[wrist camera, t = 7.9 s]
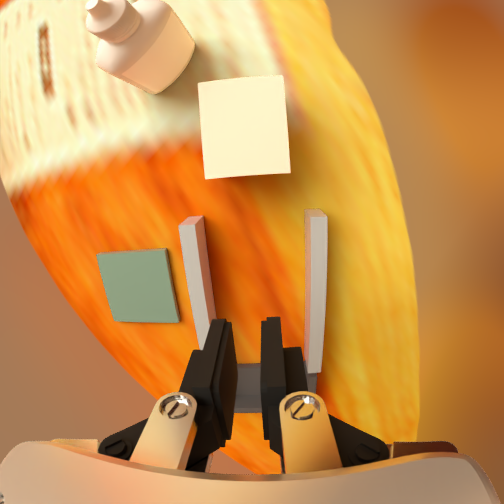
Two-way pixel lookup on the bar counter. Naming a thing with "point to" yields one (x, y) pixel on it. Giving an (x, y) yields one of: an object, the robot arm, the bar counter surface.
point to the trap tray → (258, 387)
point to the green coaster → (139, 285)
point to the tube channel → (314, 290)
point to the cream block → (244, 126)
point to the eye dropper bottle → (140, 42)
